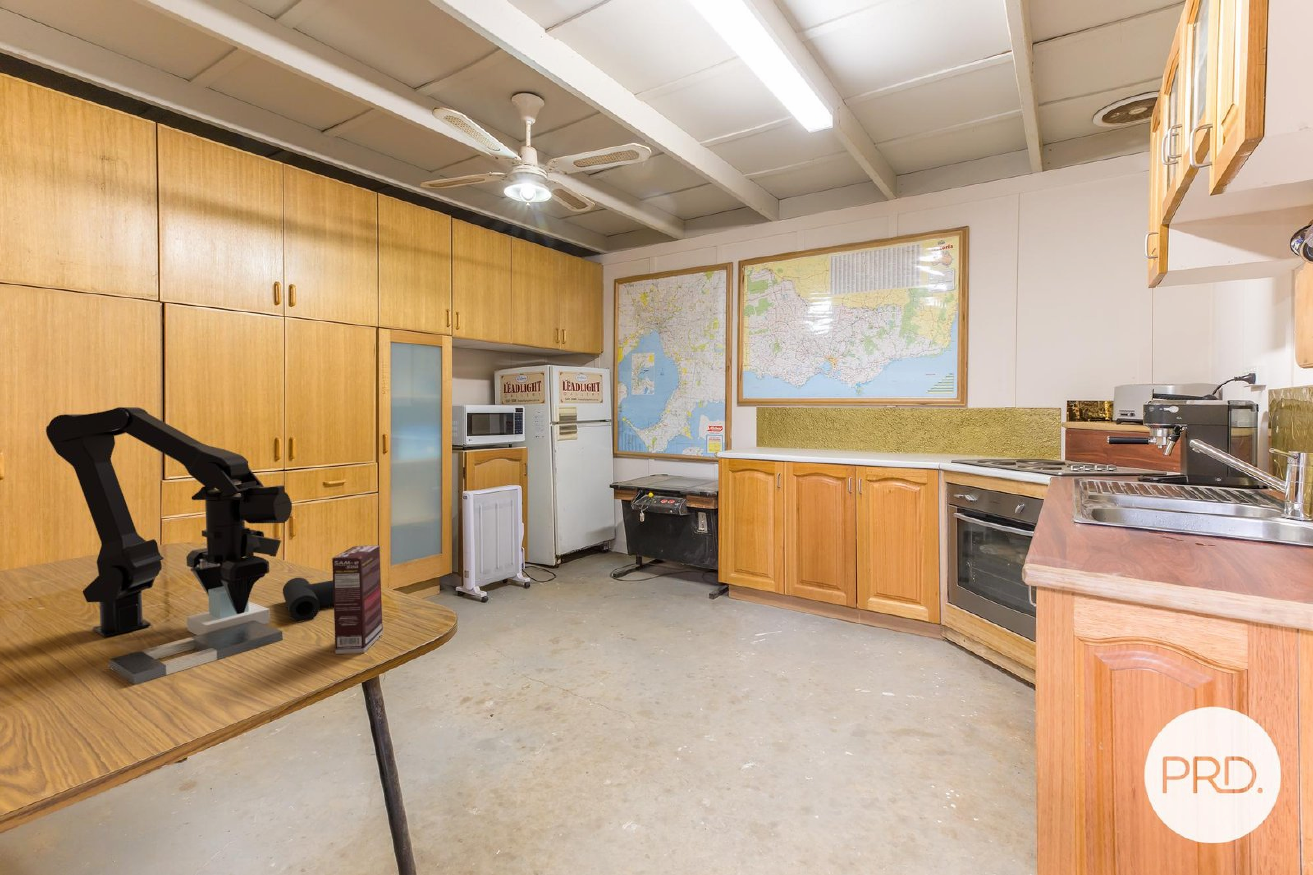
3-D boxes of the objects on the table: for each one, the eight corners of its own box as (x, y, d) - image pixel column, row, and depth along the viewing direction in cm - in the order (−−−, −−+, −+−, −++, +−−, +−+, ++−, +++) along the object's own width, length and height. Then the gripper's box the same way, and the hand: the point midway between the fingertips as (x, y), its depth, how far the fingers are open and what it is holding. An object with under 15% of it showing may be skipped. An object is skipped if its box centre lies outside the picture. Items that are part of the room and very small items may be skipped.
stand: (187, 630, 107) (186, 616, 107) (249, 614, 115) (249, 601, 115) (206, 639, 103) (206, 625, 103) (270, 622, 111) (269, 609, 111)
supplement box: (355, 635, 105) (353, 545, 104) (383, 634, 105) (381, 544, 105) (332, 655, 96) (330, 557, 96) (364, 654, 97) (361, 556, 96)
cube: (209, 614, 108) (208, 589, 108) (237, 607, 112) (236, 583, 112) (220, 618, 106) (219, 593, 106) (248, 611, 110) (247, 587, 109)
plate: (109, 668, 91) (109, 659, 91) (254, 628, 108) (254, 620, 108) (134, 684, 86) (133, 674, 86) (282, 639, 103) (282, 631, 103)
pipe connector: (344, 569, 129) (356, 585, 117) (345, 593, 130) (358, 612, 118) (281, 579, 123) (288, 597, 111) (283, 604, 123) (289, 625, 111)
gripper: (298, 522, 110) (301, 605, 111) (250, 512, 120) (253, 589, 121) (229, 532, 101) (232, 623, 101) (183, 521, 111) (186, 604, 111)
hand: (228, 608), depth 109 cm, fingers open, 9 cm apart
